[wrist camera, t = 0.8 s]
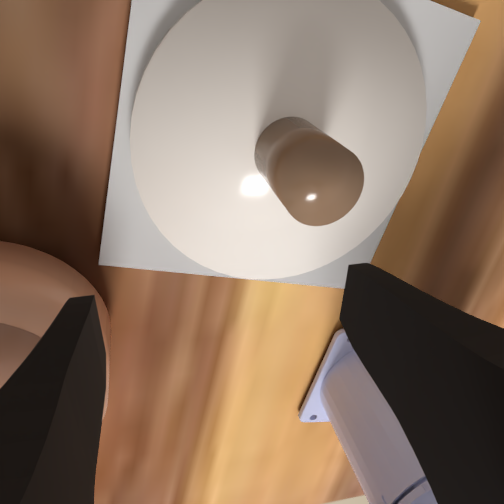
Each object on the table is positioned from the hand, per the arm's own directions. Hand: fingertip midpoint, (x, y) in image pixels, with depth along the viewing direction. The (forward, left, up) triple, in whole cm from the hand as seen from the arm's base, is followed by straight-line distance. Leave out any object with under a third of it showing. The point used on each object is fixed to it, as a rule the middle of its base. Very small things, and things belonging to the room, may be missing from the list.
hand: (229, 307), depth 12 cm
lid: (-3, -3, -8) cm, 9 cm away
